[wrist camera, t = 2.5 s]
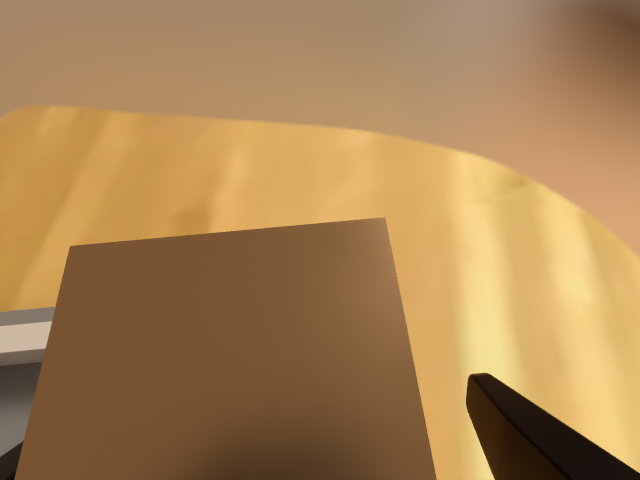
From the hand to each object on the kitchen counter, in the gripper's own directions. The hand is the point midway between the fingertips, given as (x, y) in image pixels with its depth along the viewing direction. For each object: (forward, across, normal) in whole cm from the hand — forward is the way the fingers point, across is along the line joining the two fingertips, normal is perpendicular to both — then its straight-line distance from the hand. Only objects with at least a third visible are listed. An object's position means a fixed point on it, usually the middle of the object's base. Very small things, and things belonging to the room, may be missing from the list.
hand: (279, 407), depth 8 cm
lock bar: (+6, 0, +6) cm, 8 cm away
